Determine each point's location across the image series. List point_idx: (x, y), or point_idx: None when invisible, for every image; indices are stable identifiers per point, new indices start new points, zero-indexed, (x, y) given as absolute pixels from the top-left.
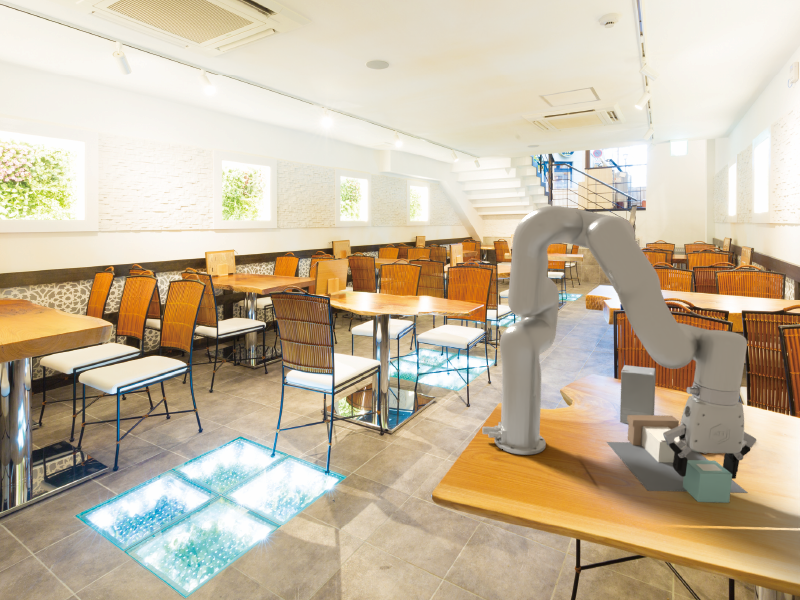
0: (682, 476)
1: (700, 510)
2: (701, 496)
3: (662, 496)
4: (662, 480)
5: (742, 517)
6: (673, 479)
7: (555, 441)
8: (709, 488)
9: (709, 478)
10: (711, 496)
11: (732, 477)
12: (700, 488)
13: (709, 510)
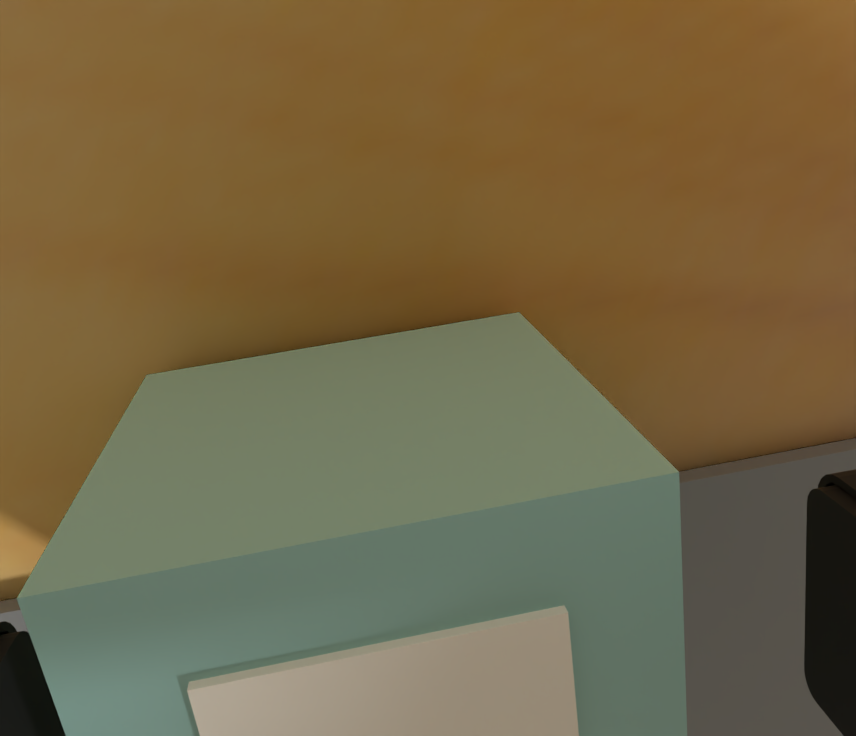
0: (852, 471)
1: (541, 167)
2: (498, 339)
3: (820, 377)
4: (701, 660)
5: (90, 100)
6: None
7: None
8: (426, 392)
9: (473, 461)
10: (371, 363)
11: (4, 634)
12: (556, 368)
13: (436, 188)
